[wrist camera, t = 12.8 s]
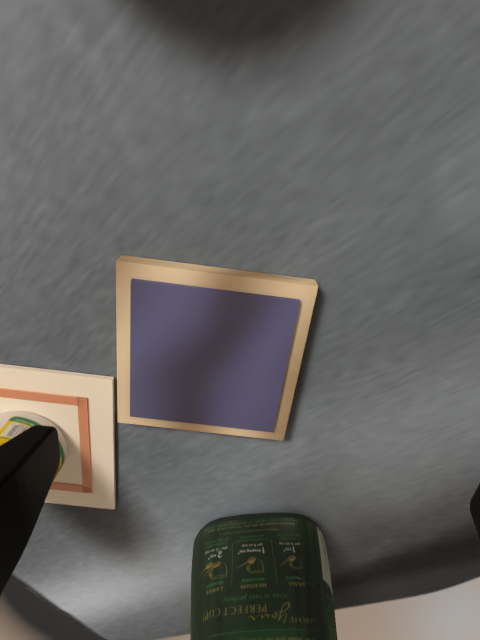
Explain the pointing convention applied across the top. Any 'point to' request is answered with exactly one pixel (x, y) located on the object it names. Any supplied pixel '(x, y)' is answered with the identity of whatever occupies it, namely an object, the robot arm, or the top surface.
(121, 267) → the ink pad
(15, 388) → the print card
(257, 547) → the coffee jar
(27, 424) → the supplement bottle
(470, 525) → the top surface
